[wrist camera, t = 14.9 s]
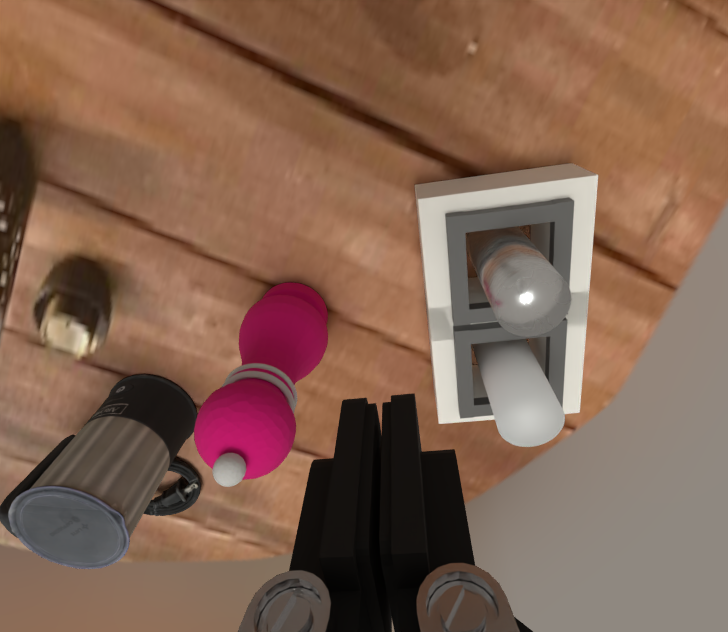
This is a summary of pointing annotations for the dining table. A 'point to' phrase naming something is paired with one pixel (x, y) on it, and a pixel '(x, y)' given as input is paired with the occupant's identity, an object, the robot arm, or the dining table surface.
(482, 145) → the dining table surface
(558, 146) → the dining table surface
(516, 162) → the dining table surface
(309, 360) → the pepper mill
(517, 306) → the peg
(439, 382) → the socket block
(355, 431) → the robot arm
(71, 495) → the milk frother
